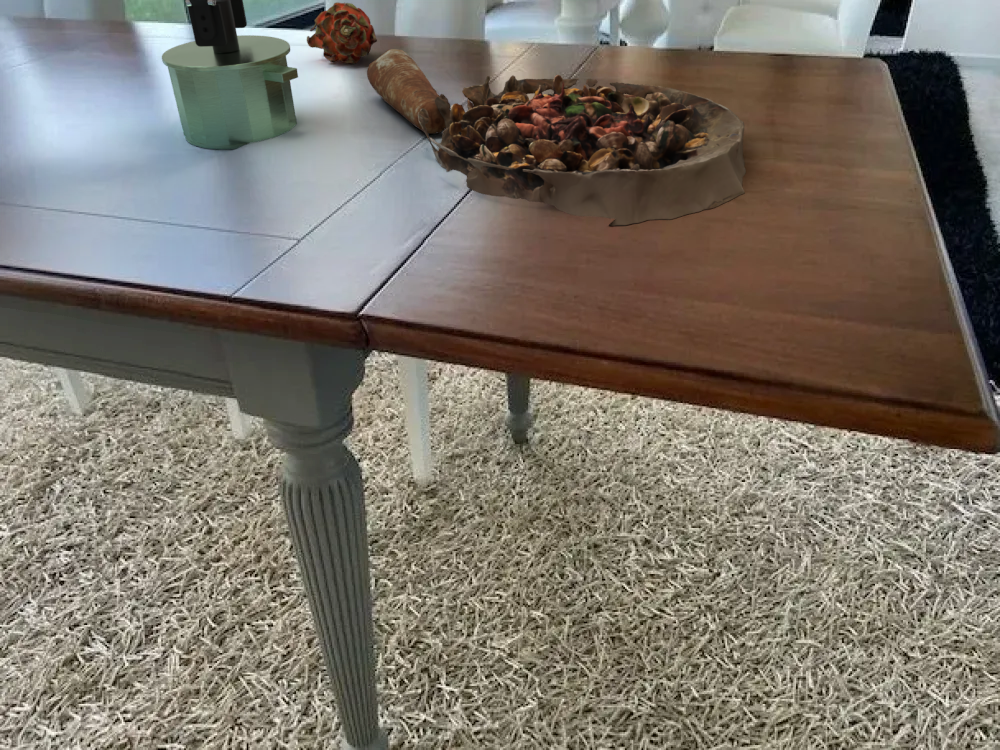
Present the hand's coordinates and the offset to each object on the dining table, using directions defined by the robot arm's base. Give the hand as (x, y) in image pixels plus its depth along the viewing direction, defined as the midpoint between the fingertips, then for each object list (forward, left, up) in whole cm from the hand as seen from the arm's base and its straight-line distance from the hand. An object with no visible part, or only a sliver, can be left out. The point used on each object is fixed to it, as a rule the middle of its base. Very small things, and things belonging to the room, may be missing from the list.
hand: (222, 35), depth 93 cm
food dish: (+10, -39, -11) cm, 42 cm away
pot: (0, 0, -11) cm, 11 cm away
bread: (+14, -15, -11) cm, 23 cm away
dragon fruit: (+30, +9, -11) cm, 33 cm away
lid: (0, 0, -2) cm, 2 cm away
